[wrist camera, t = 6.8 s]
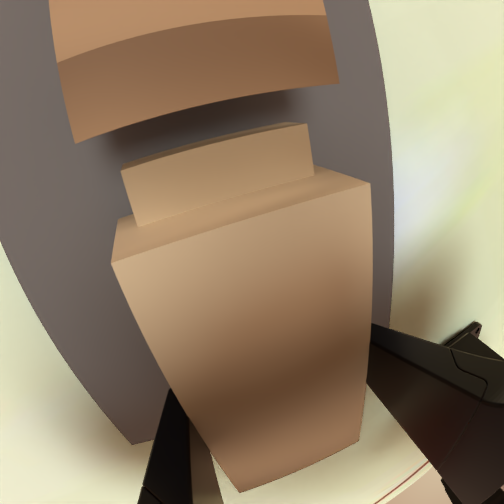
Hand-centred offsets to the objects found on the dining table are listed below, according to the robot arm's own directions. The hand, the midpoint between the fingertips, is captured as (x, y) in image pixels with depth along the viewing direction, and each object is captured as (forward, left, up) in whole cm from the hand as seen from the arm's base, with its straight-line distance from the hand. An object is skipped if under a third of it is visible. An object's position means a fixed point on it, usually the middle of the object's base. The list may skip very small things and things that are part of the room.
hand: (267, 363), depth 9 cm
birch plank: (0, 0, -1) cm, 1 cm away
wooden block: (+12, 0, -2) cm, 12 cm away
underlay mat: (+6, 0, -2) cm, 6 cm away
